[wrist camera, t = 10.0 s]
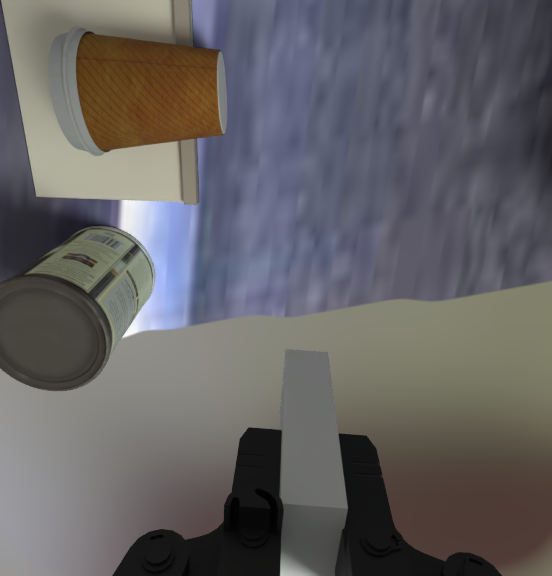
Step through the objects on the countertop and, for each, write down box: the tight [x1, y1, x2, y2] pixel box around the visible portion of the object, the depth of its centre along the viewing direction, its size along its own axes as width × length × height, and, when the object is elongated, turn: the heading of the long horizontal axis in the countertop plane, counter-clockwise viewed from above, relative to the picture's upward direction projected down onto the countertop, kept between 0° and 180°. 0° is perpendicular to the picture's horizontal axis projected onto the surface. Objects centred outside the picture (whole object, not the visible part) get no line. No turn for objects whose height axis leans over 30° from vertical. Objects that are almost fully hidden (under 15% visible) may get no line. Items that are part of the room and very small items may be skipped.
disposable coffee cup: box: [48, 27, 227, 156], centre depth 37 cm, size 10×10×12 cm
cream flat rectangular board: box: [1, 0, 199, 205], centre depth 41 cm, size 16×20×2 cm
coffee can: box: [0, 226, 155, 391], centre depth 42 cm, size 10×10×14 cm
